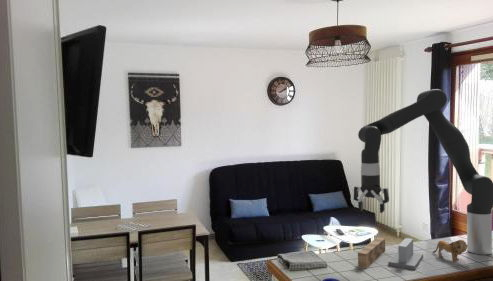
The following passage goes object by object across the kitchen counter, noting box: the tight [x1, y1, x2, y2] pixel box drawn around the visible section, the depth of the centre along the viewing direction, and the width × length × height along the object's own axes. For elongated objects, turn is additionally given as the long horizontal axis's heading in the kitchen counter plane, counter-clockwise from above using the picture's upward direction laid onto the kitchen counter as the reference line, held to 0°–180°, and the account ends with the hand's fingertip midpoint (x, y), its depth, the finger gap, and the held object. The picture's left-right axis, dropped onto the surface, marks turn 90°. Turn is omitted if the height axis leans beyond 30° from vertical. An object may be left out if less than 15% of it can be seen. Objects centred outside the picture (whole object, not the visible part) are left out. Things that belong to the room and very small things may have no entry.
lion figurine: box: [431, 239, 468, 263], centre depth 164 cm, size 15×5×9 cm, turn 34°
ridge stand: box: [388, 237, 424, 271], centre depth 162 cm, size 16×10×8 cm, turn 145°
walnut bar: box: [357, 236, 386, 269], centre depth 167 cm, size 24×4×6 cm, turn 144°
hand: (371, 211), depth 166 cm, fingers open, 8 cm apart
